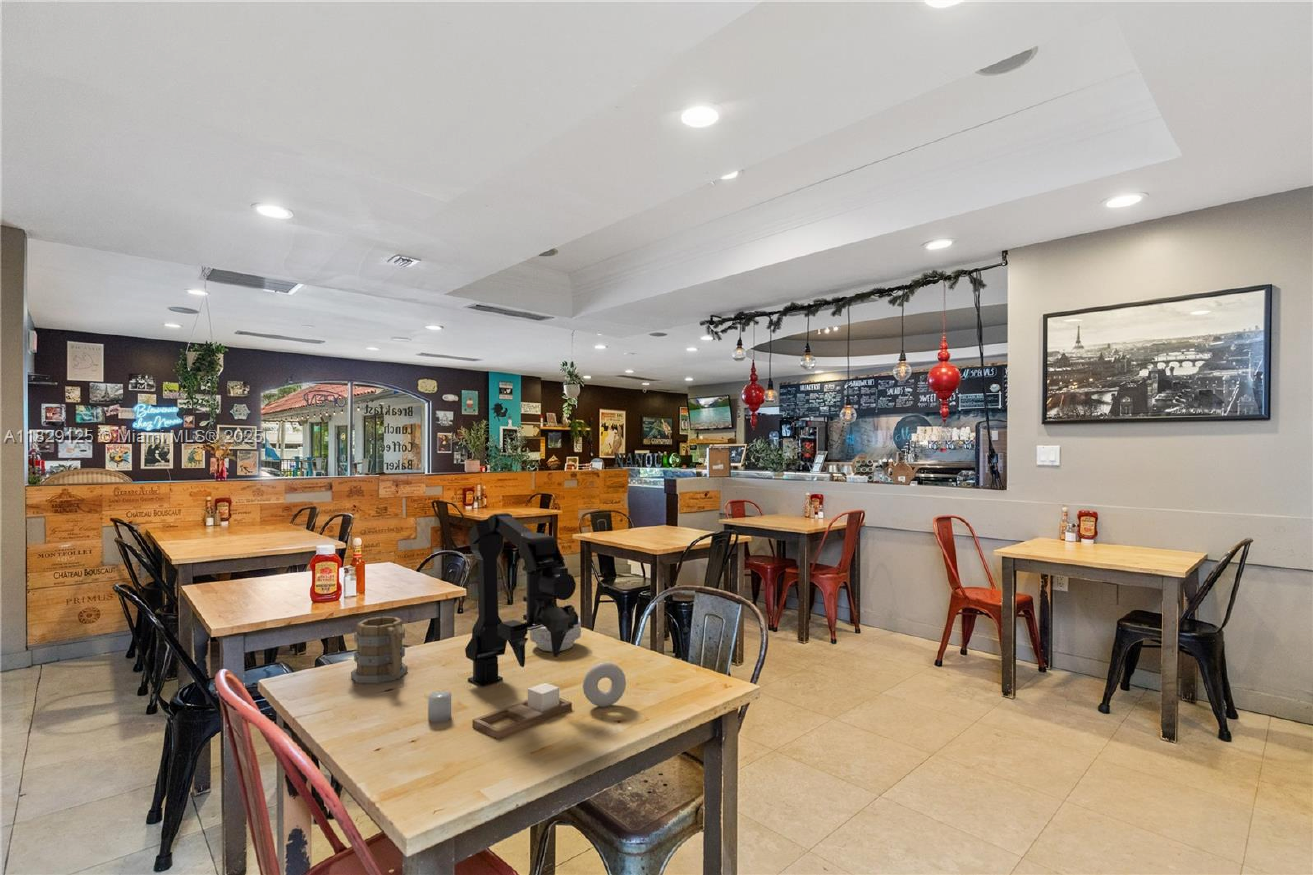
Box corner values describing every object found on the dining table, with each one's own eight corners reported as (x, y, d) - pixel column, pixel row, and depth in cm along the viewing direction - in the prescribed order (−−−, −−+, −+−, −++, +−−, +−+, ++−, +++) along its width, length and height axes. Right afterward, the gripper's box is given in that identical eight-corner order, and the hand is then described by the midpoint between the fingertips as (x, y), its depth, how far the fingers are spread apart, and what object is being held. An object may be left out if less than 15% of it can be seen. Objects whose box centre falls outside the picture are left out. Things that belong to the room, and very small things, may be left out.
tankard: (346, 674, 170) (346, 617, 170) (395, 663, 178) (395, 609, 179) (372, 695, 155) (372, 632, 155) (424, 683, 163) (424, 623, 164)
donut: (584, 711, 145) (584, 666, 146) (581, 705, 149) (581, 662, 149) (627, 706, 148) (627, 662, 148) (624, 701, 151) (624, 658, 152)
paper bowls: (525, 643, 198) (525, 616, 198) (574, 637, 203) (574, 612, 203) (534, 658, 183) (534, 629, 183) (586, 652, 189) (586, 624, 189)
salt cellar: (423, 718, 142) (424, 695, 142) (443, 711, 146) (443, 689, 146) (435, 724, 139) (435, 701, 139) (455, 717, 142) (455, 694, 143)
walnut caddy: (472, 726, 137) (472, 719, 138) (546, 699, 153) (546, 692, 153) (497, 739, 132) (497, 731, 132) (571, 709, 147) (571, 702, 147)
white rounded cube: (527, 711, 146) (527, 688, 146) (544, 704, 150) (544, 682, 150) (541, 716, 143) (542, 694, 143) (559, 710, 147) (559, 687, 147)
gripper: (526, 605, 134) (525, 681, 134) (594, 591, 148) (594, 660, 148) (496, 597, 142) (495, 668, 142) (563, 584, 156) (563, 649, 155)
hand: (539, 661), depth 146 cm, fingers open, 9 cm apart
